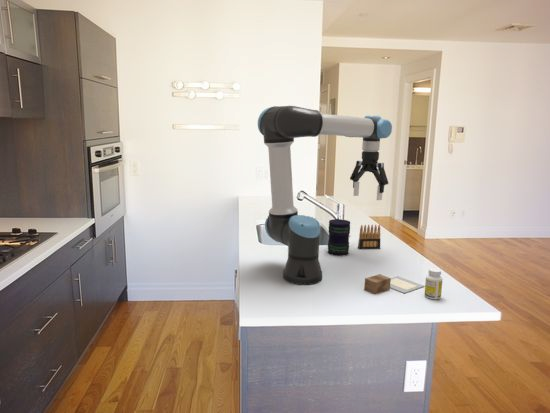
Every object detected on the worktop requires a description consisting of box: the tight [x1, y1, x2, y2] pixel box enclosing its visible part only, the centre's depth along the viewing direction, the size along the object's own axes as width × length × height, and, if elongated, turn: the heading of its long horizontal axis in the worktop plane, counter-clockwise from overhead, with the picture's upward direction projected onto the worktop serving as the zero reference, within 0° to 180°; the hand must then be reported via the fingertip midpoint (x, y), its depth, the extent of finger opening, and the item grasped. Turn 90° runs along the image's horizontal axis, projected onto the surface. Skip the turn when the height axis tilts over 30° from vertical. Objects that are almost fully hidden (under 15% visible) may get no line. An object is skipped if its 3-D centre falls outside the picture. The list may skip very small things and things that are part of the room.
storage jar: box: [327, 218, 351, 257], centre depth 191 cm, size 10×10×15 cm
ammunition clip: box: [357, 224, 381, 250], centre depth 200 cm, size 11×2×12 cm, turn 98°
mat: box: [390, 275, 425, 294], centre depth 154 cm, size 12×12×1 cm
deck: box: [363, 274, 392, 295], centre depth 149 cm, size 8×5×4 cm, turn 126°
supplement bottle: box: [424, 267, 444, 300], centre depth 143 cm, size 5×5×10 cm
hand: (367, 197), depth 189 cm, fingers open, 13 cm apart
